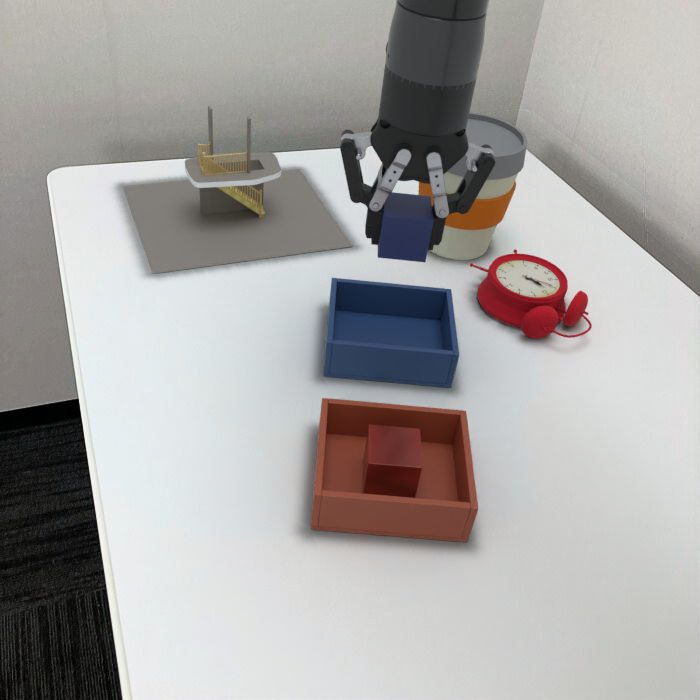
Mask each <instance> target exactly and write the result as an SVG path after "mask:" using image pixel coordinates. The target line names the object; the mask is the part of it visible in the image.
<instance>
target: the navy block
mask: <svg viewBox="0 0 700 700" xmlns="http://www.w3.org/2000/svg"><path fill="white" fill-rule="evenodd" d="M432 226H433V212H432V203H431V196H423V195H418V194H414V193H413V194H412V193H401V192H393V191H392V192H391V193H390V194H389V196H388V197H387V199H386V201H385V203H384V205H383V217H382V224H381V231H380V237H379V244H378V245H377V258H378V259H387V260H397V261H408V262H419V263H426V262H427V256H428V252H429V250H428V247H429V241H430V236H431V231H432Z"/></svg>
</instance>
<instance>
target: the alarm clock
mask: <svg viewBox="0 0 700 700" xmlns="http://www.w3.org/2000/svg"><path fill="white" fill-rule="evenodd" d="M512 252H513V253H507V254H503V255H500V256H498V257H497V258H495V259H493V261H492V262H491V264H489V267H488V269H487V268H484V267H483V266H478V265H475V264H474V263H473V262H470V264H469V267H471V268H476V269H478V270H480V271H483V272H485V273H487V275H486V277H485V278H484V279H483V280H482V281H481V282H480V284H479V285H478V287H477V288H478V289H477V294H476V295H477V299H478V302H479V304H480V306H481V307H482V308H483V310H484V311H485V312H486V313H487V314H489V315H490V316H491V317H493V318H494V319H496V320H498V321H500V322H502V323H504V324H507V325H509V326H513V327H517V328H520V329H521V332H522V333H523V335H524V336H526V337H527V338H529V339H534V340H538V339H543V338H546V337H548V336H549V335H551V334H552V333H553V334H555V335H558V336H560V337H562V338H570V339H571V338H578V337H581V336H584V335H585V334H587V333H588V332H590V331H591V329H592V326H593V325H592V322H591V321H590V320H589V318H587V316H588V315H589V314H590V313H589V312H587V311H586V310H587V307H588V303H589V296H588V294H587V293H586V292H584V291H583V290H579V291H578V292H576V294H575V295H574V296H573V297H572V299H571V301H570V303H569V305H568V307H566V306H567V305H566V302H565V297H566V294H567V292H568V289H569V285H568V278H567V276H566V274H565V273H564V272H563V271H562V269H561V268H560V267H558V266H557V265H556V264H554V263H552V262H550V261H549V260H547V259H544V258H542V257H540V256H536V255H532V254H528V253H518V250H517V249H513V251H512ZM582 318H583V319H584V320H585V321H586V322H587V324H588V328H586V330H584V331H582V332H579V333H576V334H570V335H569V334H564V333H562V332H559V331H557V330H556V328H557V326H558V323H560V322H562V324H563V325H564V326H566V327H574V326H575V325H577V323H578V322H579V321H580V320H581V319H582Z"/></svg>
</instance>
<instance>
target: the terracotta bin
mask: <svg viewBox="0 0 700 700" xmlns="http://www.w3.org/2000/svg"><path fill="white" fill-rule="evenodd" d="M369 424H371V425H382V426H393V427H405V428H416V429H420V438H421V455H422V471H421V475H420V479H419V484H418V488H417V492H416V496H415V498H410V497H398V496H386V495H374V494H363V457H364V451H365V445H366V439H367V432H368V426H369ZM317 435H318V436H317V447H316V459H315V468H314V469H315V471H314V483H313V493H312V507H311V518H310V530H314V531H315V530H316V531H327V532H338V533H339V532H341V533H350V534H351V533H352V534H360V535H361V534H362V535H373V536H387V537H398V538H399V537H400V538H410V539H411V538H412V539H424V540H435V541H447V542H457V543H458V542H460V543H468V542H469V538H470V535H471V531H472V529H473V526H474V523H475V521H476V517H477V514H478V512H479V503H478V496H477V487H476V478H475V471H474V470H475V469H474V464H473V463H474V461H473V454H472V447H471V446H472V445H471V438H470V430H469V422H468V414H467V410H462V409H452V408H443V407H442V408H439V407H430V406H420V405H419V406H418V405H408V404H407V405H406V404H396V403H385V402H374V401H364V400H354V399H353V400H352V399H341V398H328V397H327V398H326V397H322V398H321V405H320V414H319V424H318V434H317Z"/></svg>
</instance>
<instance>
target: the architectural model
mask: <svg viewBox="0 0 700 700" xmlns="http://www.w3.org/2000/svg"><path fill="white" fill-rule="evenodd" d="M213 120H214V117H213V108H212V106H211V105H207V129H208V131H207V132H208V143H205V144H201V143H197V149H198V155H195V156H193V157H190V158H187V159H185V160H184V171H185V174H186V176H187V178H188V179H181V180H171V181H162V182H160V181H159V182H151V183H141V184H130V185H123V186H122V188H123V191H124V194H125V196H126V200H127V202H128V205H129V209H130V212H131V214H132V217H133V220H134V223H135V225H136V228H137V232H138V235H139V236H140V241H141V244H142V245H143V250H144V252H145V255H146V258H147V260H148V263H149V266H150V269H151V272H152V274H153V275H155V274H162V273H168V272H177V271H183V270H190V269H198V268H205V267H212V266H213V267H214V266H221V265H227V264H228V265H229V264H234V263H241V262H249V261H250V262H251V261H256V260H264V259H271V258H277V257H279V258H280V257H285V256H287V257H288V256H293V255H294V256H295V255H300V254H301V255H302V254H308V253H315V252H316V253H317V252H322V251H330V250H338V249H345V248H352V247H354V245H352V243H351V242H350V239H348V237H347V235H346V234H345V233H344V232H343V230H342V228H341V227H340V225H339V224H338V223H337V221H336V220H335V219H334V217H333V216H332V214H331V213H330V211H329V210H328V208H327V207H326V205H325V204H324V202H323V201H322V199H321V198H320V196H319V195H318V194H317V192H316V191H315V189H314V188H313V187H312V184H310V182H309V181H308V180H307V178H306V176H305V175H304V174H303V172H302V170H301V169H300V168H296V169H287V170H285V169H284V170H282V168H281V164H280V162H279V160H278V157H277V155H275V153H273V152H272V151H259V152H258V151H255V152H254V151H253V152H252V151H251V147H252V146H251V144H252V143H251V141H252V118H251V117H250V116H247V117H246V150H245V152H221V153H220V152H219V153H217V152H216V153H214V126H213V125H214V121H213Z"/></svg>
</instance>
